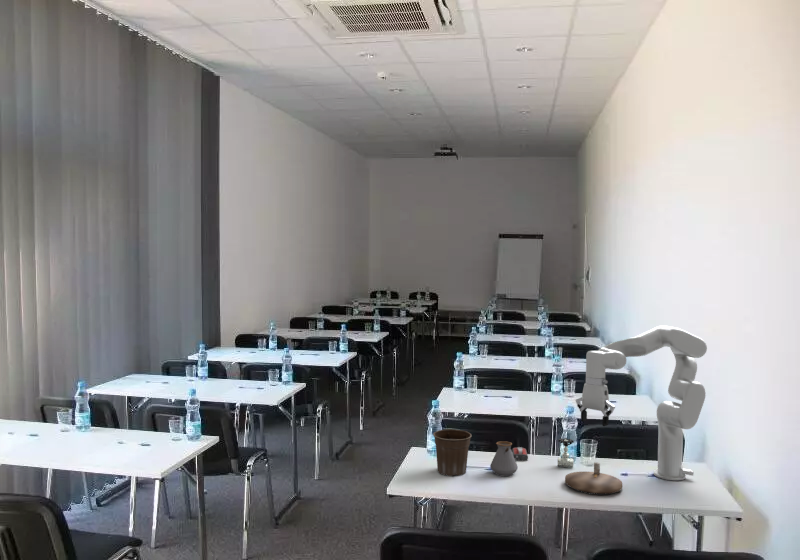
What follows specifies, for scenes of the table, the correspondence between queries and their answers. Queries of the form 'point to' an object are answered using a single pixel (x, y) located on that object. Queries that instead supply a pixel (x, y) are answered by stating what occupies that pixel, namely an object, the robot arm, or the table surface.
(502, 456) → the coffee pot
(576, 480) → the turntable platter
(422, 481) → the table surface
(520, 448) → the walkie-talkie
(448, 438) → the plant pot
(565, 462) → the valve
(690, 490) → the table surface
